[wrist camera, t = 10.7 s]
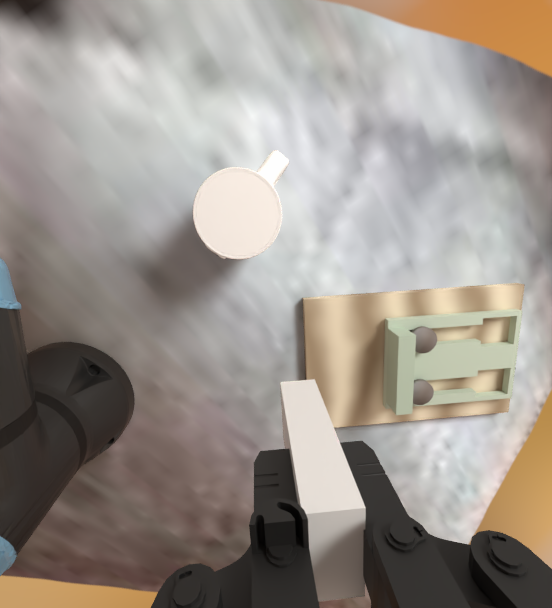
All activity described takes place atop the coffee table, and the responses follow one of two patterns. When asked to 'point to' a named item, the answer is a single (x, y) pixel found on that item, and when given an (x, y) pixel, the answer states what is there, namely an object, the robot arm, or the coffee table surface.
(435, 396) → the panel
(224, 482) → the coffee table surface
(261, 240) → the mug
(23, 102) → the coffee table surface
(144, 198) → the coffee table surface
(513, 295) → the board
